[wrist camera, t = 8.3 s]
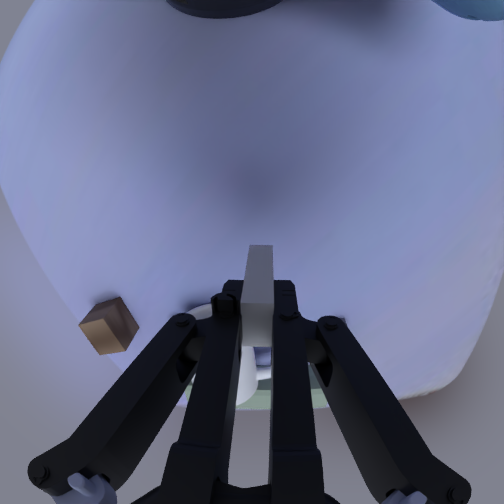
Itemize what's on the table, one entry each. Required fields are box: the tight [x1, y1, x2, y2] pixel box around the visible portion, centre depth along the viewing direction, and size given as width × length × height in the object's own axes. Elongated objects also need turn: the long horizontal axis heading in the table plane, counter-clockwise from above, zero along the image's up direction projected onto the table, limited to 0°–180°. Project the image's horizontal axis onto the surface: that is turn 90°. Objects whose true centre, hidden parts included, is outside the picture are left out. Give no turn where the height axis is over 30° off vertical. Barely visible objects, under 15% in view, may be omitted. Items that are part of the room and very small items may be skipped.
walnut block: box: [79, 297, 140, 355], centre depth 31 cm, size 5×5×5 cm
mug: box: [187, 304, 271, 406], centre depth 29 cm, size 12×10×8 cm
